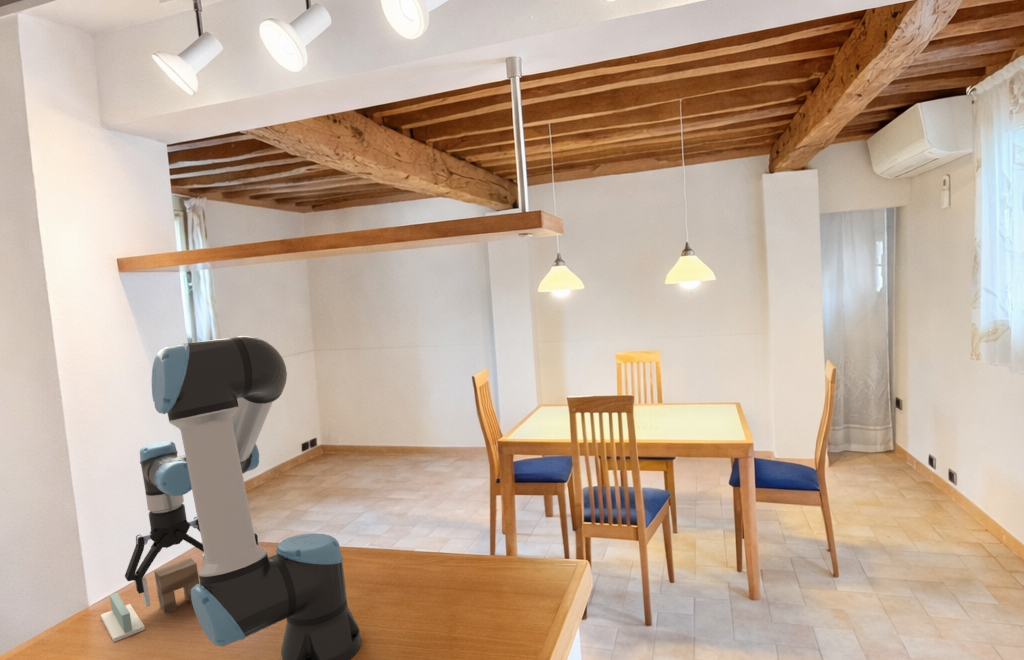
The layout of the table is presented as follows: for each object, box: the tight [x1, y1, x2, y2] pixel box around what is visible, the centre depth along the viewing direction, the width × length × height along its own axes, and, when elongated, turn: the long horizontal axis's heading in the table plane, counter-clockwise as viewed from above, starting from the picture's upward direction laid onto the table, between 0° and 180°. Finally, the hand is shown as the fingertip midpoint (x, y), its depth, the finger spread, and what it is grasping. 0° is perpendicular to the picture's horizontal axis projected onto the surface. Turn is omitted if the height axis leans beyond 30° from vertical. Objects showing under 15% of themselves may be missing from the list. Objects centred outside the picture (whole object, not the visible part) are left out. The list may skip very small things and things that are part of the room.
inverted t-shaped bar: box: [100, 592, 146, 643], centre depth 141 cm, size 15×6×5 cm, turn 43°
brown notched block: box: [153, 557, 200, 614], centre depth 148 cm, size 5×8×9 cm, turn 133°
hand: (179, 592), depth 148 cm, fingers open, 13 cm apart
